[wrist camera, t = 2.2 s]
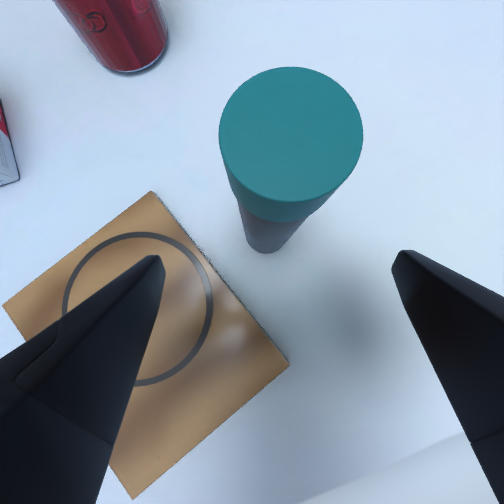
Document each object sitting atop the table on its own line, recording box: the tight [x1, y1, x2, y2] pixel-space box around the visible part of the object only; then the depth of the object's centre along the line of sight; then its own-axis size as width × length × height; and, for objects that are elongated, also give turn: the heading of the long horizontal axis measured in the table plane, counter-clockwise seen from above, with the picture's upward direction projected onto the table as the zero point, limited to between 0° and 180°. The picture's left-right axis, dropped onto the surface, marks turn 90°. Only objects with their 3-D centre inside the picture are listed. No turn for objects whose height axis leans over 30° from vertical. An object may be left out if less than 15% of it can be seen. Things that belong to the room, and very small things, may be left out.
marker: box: [219, 67, 363, 253], centre depth 12 cm, size 3×3×14 cm
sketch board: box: [2, 191, 290, 500], centre depth 18 cm, size 18×15×1 cm
